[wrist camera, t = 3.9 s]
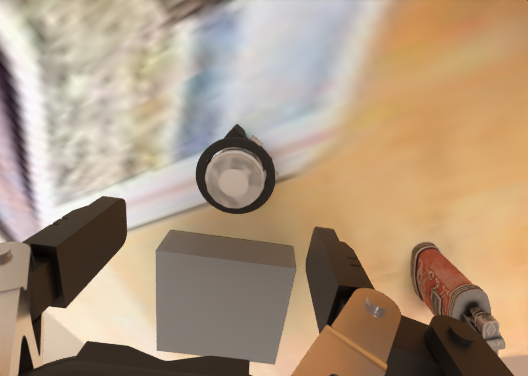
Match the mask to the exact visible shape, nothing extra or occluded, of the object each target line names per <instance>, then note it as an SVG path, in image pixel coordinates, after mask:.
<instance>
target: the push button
mask: <svg viewBox="0 0 528 376" xmlns="http://www.w3.org/2000/svg"><path fill="white" fill-rule="evenodd" d="M220 150H223V151H222V152H221V153H220V154H218V155H216V156H215V157H214V158H213V159H212V157H213V155H214V154H215V153H217V152H218V151H220ZM211 159H212V160H211ZM265 175H266V180H265ZM278 178H279V176H278V173H277V172H276V171H275V169H274V165H273V162H272V158H271V157H270V156H269V155H268V154H267V152H266V151H265V150H264V149H263V148H262V147H261V142H260V141H259V140H258V139H257V138H256V137H255V136H252V138H251V139H248V138H247V137H246V136H245V131H244V130H243V129H242V128H241V127H240V126H239V125H238V124H236V125H235V126H234V127H233V129H232V130H231V131H230V132H229V133H228V134H227V135H226V136H225V138H224V139H221V140H219V141H217V142H215V143H213V144H212V145H210V146H209V147H208V148H207V149H206V150H205V151H204V152H203V154H202V155H201V157H200V159H199V161H198V163H197V167H196V181H197V185H198V188H199V190H200V192H201V194H202V195H203V197H204V198H205V199H206V201H207V202H209V203H210V204H211V205H212V206H214V207H215V208H217V209H219V210H221V211H223V212H227V213H232V214H243V213H248V212H251V211H254V210H256V209H258V208H259V207H261V206H262V205H263V204H264V203H265V202H266V201H267V200H268V199H269V197H270V196H271V194H272V192H273V189H274V186H275V181H276V180H277V179H278Z"/></svg>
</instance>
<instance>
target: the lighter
mask: <svg viewBox="0 0 528 376" xmlns="http://www.w3.org/2000/svg"><path fill="white" fill-rule="evenodd" d="M411 278H412V283H413V286H414V289H415V291H416V294H417V295H418V296H419V298H420V299H421V300H422V301H423V302H425V303H426V305H427V306H428V307H429V309H430V310H431V311H432V313H433V314H434V316H436V315H446V316H450V317H453V318H456V319H458V320H460V321H462V322H464V323H465V324H467V325H469V326H470V327H471V328H473V329H474V330H475V331H476V332H478V333H479V334H480V335H481V336H482V337H483V338H484V340H485V341H486V342H487V343H488V344H489V346H490V347H491V348H492V349H493V351H494V352H495V353H496V354H497V355H498V350H499V349H504V348H505V342H504V340H503V338H502V336H501V334H500V332H499V322H498V321H497V320H496V319H495V318H494V317H493V316H492V315H491V308H490V304H489V300H488V296H487V294H486V293H485V292H484V291H483V290H482V289H481V288H480V287H478V286H477V285H473V284H472V283H471V282H470V281H469V280H468V279H467V278H466V277H465V276H464V275H463V274H462V273H461V272H460V271H459V270H458V269H457V268H456V267H455V266H454V265H452V264H451V263H450V262H449V261H448V260H447V259H446V258H445V257H444V256H443V255H442V254H441V252H440V250H439V249H438V248H437V247H436V246H435V245H434V244H433V243H430V242H423V243H420V244H418V245H417V246H415V247H414V249H413V251H412V256H411Z"/></svg>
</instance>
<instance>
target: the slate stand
mask: <svg viewBox="0 0 528 376" xmlns="http://www.w3.org/2000/svg"><path fill="white" fill-rule="evenodd" d="M295 273H296V263H295V256H294V249H293V246H289V245H281V244H274V243H266V242H258V241H251V240H243V239H236V238H228V237H221V236H213V235H206V234H198V233H190V232H183V231H175V230H170V231H169V233H168V234H167V235H166V237H165V238H164V240H163V241H162V242H161V244H160V245H159V247H158V248H157V250H156V315H157V351H166V352H174V353H183V354H191V355H199V356H210V355H211V356H220V357H229V358H237V359H246V360H250V362H259V363H267V364H275V361H276V357H277V352H278V348H279V343H280V339H281V335H282V330H283V326H284V321H285V317H286V312H287V308H288V304H289V299H290V295H291V290H292V286H293V281H294V277H295Z"/></svg>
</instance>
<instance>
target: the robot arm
mask: <svg viewBox="0 0 528 376" xmlns="http://www.w3.org/2000/svg"><path fill="white" fill-rule="evenodd" d="M126 236H127V220H126V203H125V200H124V199H121V198H114V197H107V196H102V197H100V198H99V199H97V200H96V201H94V202H93V203H91V204H90V205H88V206H85V207H82V208H79V209H76V210H73V211H71V212H70V213H68V214H66V215H65V216H63V217H62V219H59V220H57V221H55V222H54V223H53V225H52V224H51V225H49V226H47V227H46V228H44V229H43V230H41V231H39V232H38V233H36V234H35V235H33V236H31V237H30V238H28V239H27V240H25V241H23V242H22V243H21V242H4V243H0V376H252V375H250V374H249V361H250V360H246V359H237V358H229V357H220V356H211V355H210V356H202V357H195V358H188V359H180V360H173V361H164V360H161V359H158V358H156V357H154V356H151V355H149V354H146V353H144V352H141V351H139V350H137V349H134V348H132V347H129V346H125V345H116V344H108V343H99V342H90V341H87V342H86V343H85V345H84V346H83V348H82V349H81V350H80V352H79V353H78V355H77V356H72V357H68V358H63V359H59V360H56V361H53V362H50V363H47V364H44V365H43V356H44V355H43V354H44V316H43V312H44V311H45V310H46V309H47V308H48V307H49V306H51V307H59V308H66V307H67V306H68V305H69V304H70V303H71V302H72V301H73V300H74V299H75V298H76V296H77V295H78V294H79V293H80V292H81V291H82V290H83V289H84V288H85V287H86V286H87V284H88V283H89V282H90V281H91V280H92V279H93V278H94V277H95V276H96V275H97V274H98V272H99V271H100V270H101V269H102V268H103V267H104V266H105V265H106V264H107V263H108V262H109V260H110V259H111V258H112V257H113V256H114V255H115V254H116V253H117V252H118V251H119V250H120V248H121V247H122V246H123V244H124V242H125V240H126ZM306 274H307V279H308V283H309V288H310V293H311V297H312V302H313V306H314V311H315V315H316V320H317V325H318V329H319V334H320V335H319V336H318V337H317V339H316V340H315V342H314V343H313V345H312V346H311V348H310V349H309V350H308V352H307V353H306V355H305V356H304V358H303V359H302V361H301V362H300V363H299V365H298V366H297V368H296V369H295V371H294V372H293V374H292V375H291V376H514V375H513V374H512V373H511V372H510V370H509V369H508V368H507V367H506V365H505V364H504V363H503V362H502V360H501V359H500V358H499V357H498V355H497V354H496V353H495V352H494V351H493V349H492V348H491V347H490V346H489V344H488V343H487V342H486V341H485V340H484V338H483V337H482V336H481V335H480V334H479V333H478V332H476V331H475V330H474V329H473V328H471V327H470V326H469V325H467V324H465V323H464V322H462V321H460V320H458V319H456V318H453V317H450V316H446V315H436V316H434V317H433V318H432V320H431V322H430V324H429V325H426V324H424V323H421V322H418V321H416V320H413V319H410V318H407V317H405V316H403V315H401V312H400V309H399V308H398V306H397V305H396V303H395V302H394V301H393V300H391V299H390V298H389V297H388V296H386V295H385V294H383V293H381V292H379V291H376V290H375V289H374V287H373V285H372V284H371V282H370V280H369V278H368V276H367V274H366V272H365V271H364V269H363V267H362V265H361V263H360V261H359V260H358V258H357V256H356V254H355V252H354V250H353V249H352V248H350V247H349V246H348V245H347V244H346V243H345V242H340V241H339V239H338V237H337V235H336V233H335V231H334V229H329V228H322V227H315V228H314V231H313V234H312V238H311V242H310V246H309V250H308V254H307V258H306Z"/></svg>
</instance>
